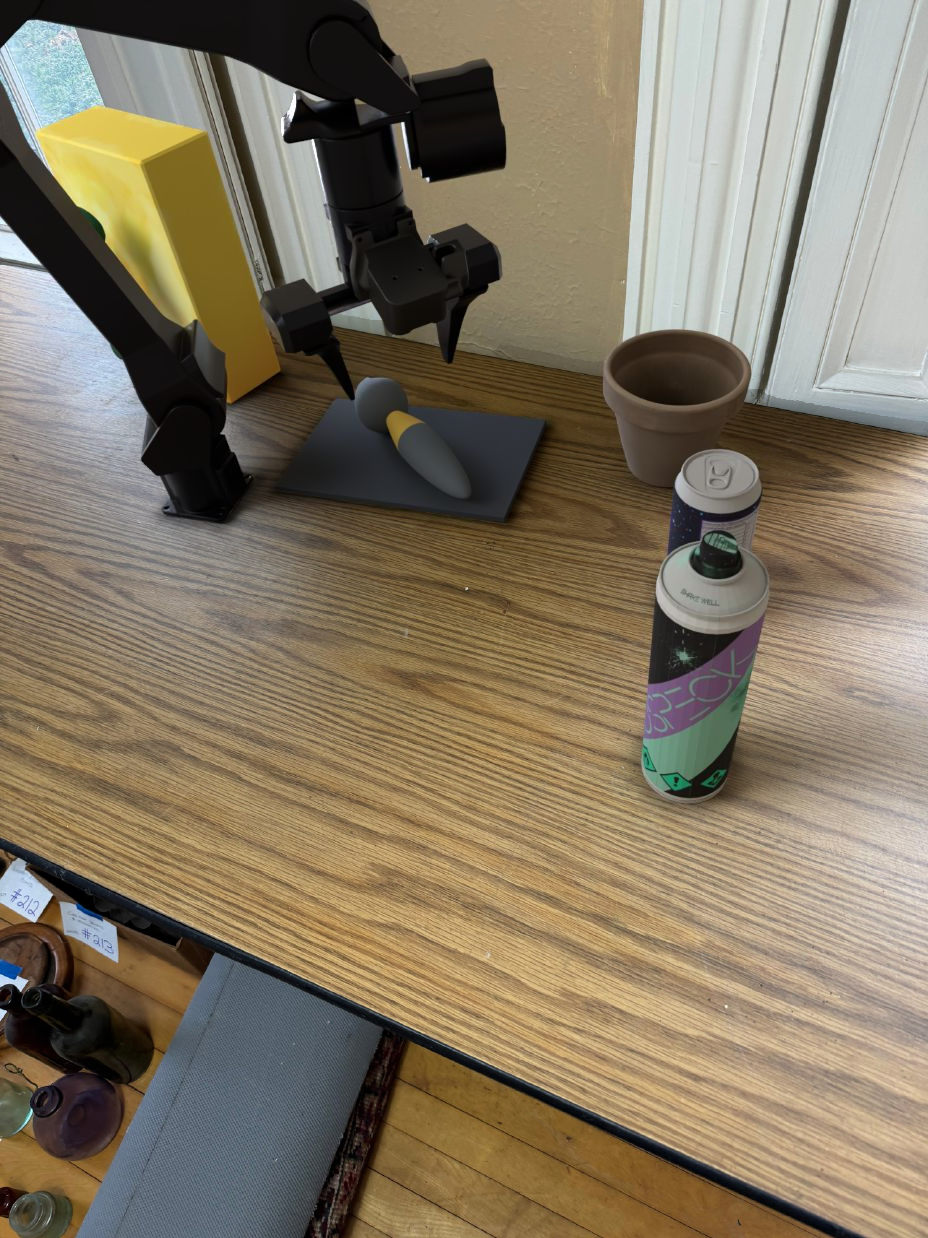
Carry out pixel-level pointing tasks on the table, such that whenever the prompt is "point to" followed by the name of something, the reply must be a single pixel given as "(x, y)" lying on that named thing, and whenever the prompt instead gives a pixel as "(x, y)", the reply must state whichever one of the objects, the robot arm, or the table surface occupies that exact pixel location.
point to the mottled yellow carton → (167, 226)
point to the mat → (377, 473)
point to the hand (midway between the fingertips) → (400, 379)
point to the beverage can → (715, 498)
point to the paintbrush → (410, 435)
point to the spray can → (701, 664)
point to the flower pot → (672, 397)
